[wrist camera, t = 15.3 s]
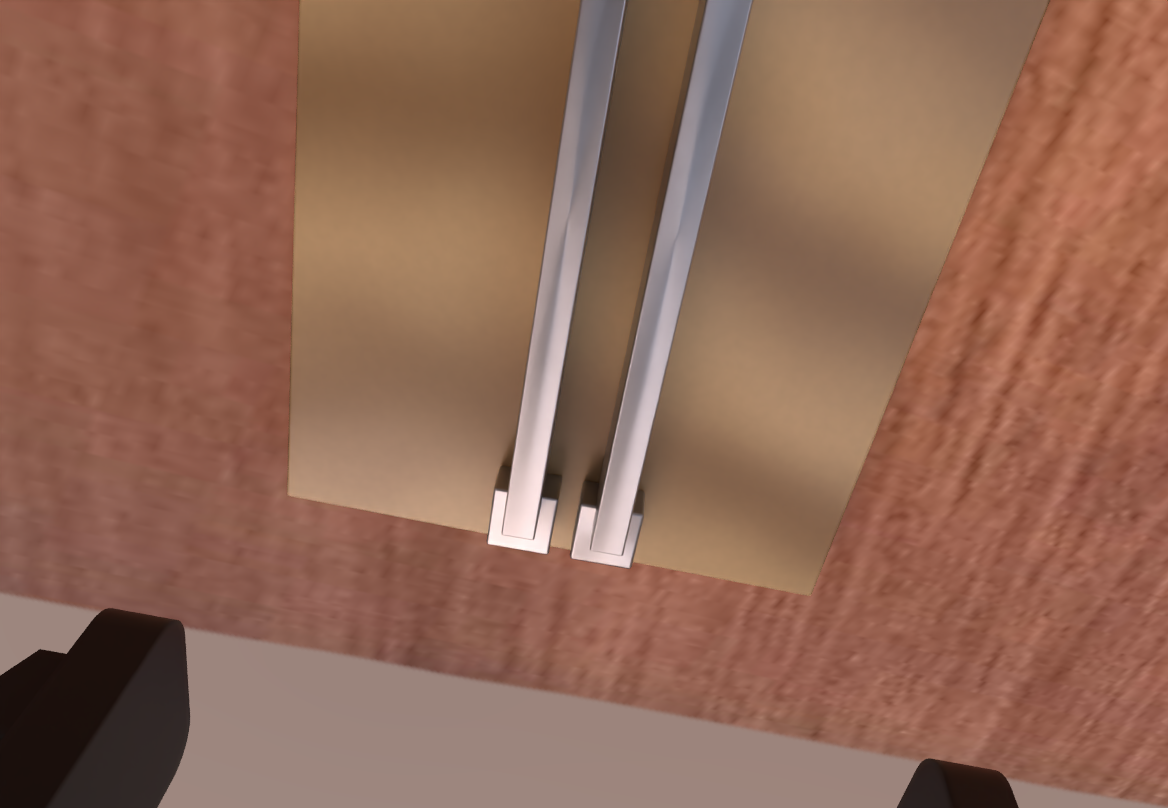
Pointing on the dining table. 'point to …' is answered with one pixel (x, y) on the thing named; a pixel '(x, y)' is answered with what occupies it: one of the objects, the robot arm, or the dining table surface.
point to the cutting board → (628, 256)
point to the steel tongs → (698, 125)
